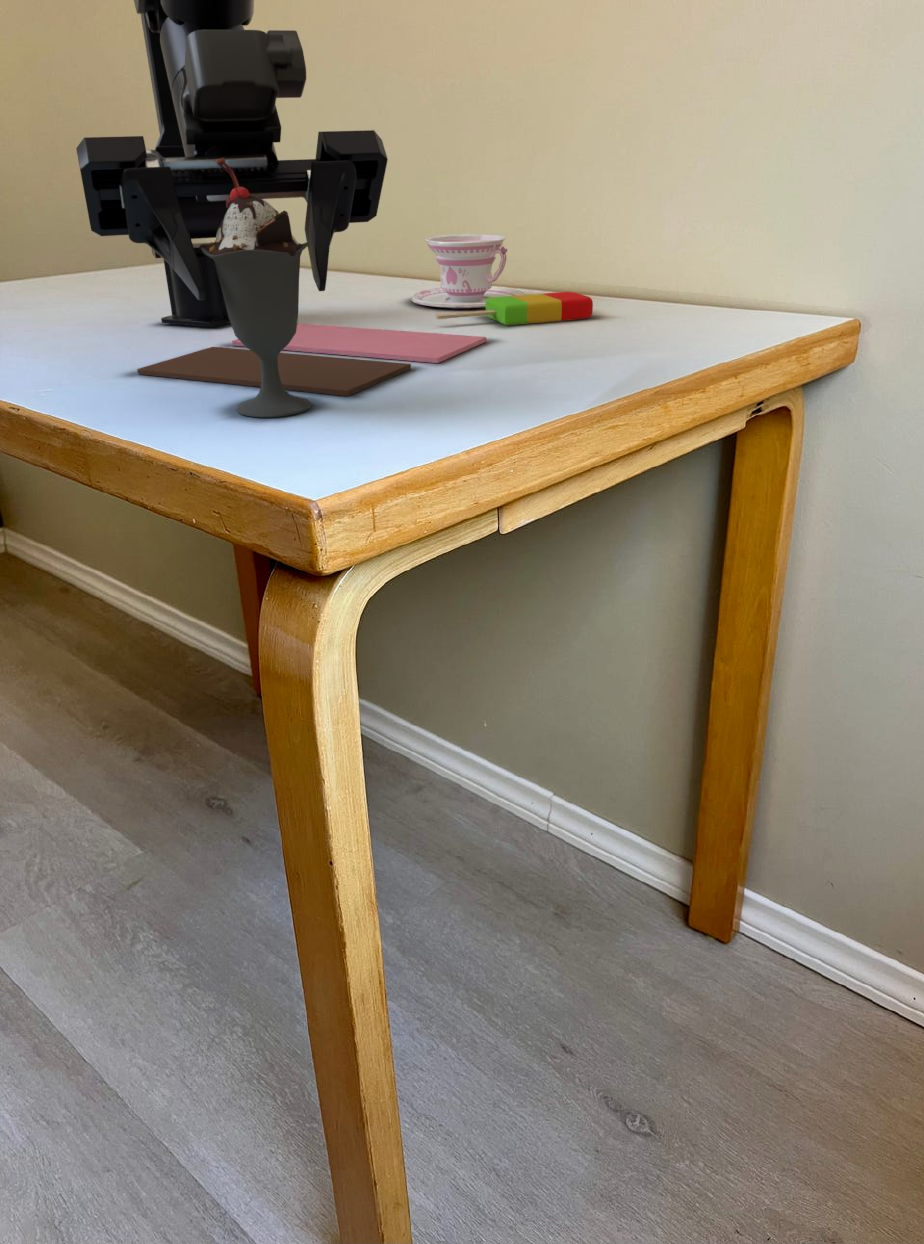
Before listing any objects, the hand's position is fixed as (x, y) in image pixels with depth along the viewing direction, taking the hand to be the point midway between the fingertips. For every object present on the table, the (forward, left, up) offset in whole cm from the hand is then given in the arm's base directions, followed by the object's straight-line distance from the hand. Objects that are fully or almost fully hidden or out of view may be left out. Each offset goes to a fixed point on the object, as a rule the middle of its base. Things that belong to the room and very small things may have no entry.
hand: (263, 291), depth 60 cm
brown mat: (-8, +10, -8) cm, 15 cm away
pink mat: (-7, +21, -8) cm, 24 cm away
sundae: (-1, +1, -8) cm, 8 cm away
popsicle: (+1, +36, -8) cm, 37 cm away
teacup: (-8, +45, -8) cm, 46 cm away
